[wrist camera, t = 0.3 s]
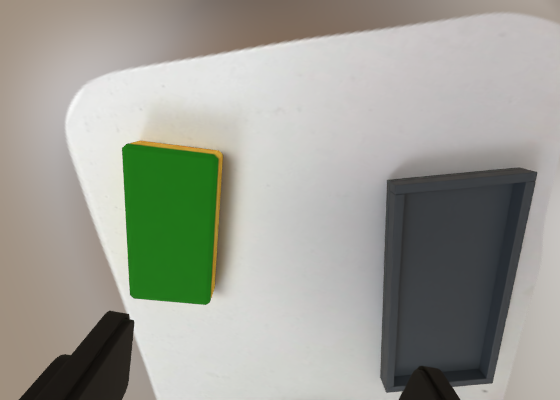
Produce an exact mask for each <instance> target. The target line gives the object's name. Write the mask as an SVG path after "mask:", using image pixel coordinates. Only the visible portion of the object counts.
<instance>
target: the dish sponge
mask: <svg viewBox="0 0 560 400" xmlns="http://www.w3.org/2000/svg"><path fill="white" fill-rule="evenodd" d="M122 155H123V173H124V192H125V211H126V229H127V248H128V266H129V285H130V295H131V296H132V297H133V298H135V299H147V300H158V301H169V302H180V303H192V304H203V305H206V304H208V303H209V302H210V300H211V297H212V294H213V291H214V288H215V275H216V259H217V243H218V227H219V211H220V195H221V179H222V162H223V155H222V153H221V152H220V151H218V150H210V149H202V148H194V147H186V146H178V145H170V144H162V143H154V142H146V141H137V142H133V143H130V144H126V145H125V146H124V147H123V148H122Z"/></svg>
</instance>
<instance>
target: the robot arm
mask: <svg viewBox="0 0 560 400" xmlns="http://www.w3.org/2000/svg"><path fill="white" fill-rule="evenodd" d="M133 331H134V320H129V314H125V313H119V312H114V311H108V312H107V313H106V314H105V315H104V316H103V317H102V318H101V320H100V321H99V322H98V323H97V325H96V326H95V327H94V328H93V329H92V331H91V332H90V333H89V334H88V335H87V337H86V338H85V339H84V340H83V341H82V343H81V344H80V345H79V346H78V347H77V349H76V350H75V351H74V352H73V353H72V355H66V354H65V355H60V356H59V357H57V358H56V359H55V360H54V361H53V362H52V363H51V364H50V365H49V366H48V367H47V369H46V370H45V371H44V372H43V373H42V374H41V375H40V376H39V378H38V379H37V380H36V381H35V382H34V383H33V384H32V386H31V387H30V388H29V389H28V390H27V391H26V392H25V393H24V395H23V396H22V397H21V398H20V399H19V400H122V398H123V396H124V394H125V392H126V389H127V386H128V381H129V371H130V361H131V351H132V341H133ZM399 400H460V398H459V397H458V395H457V394H456V392H455V391H454V389H453V388H452V386H451V385H450V383H449V381H448V380H447V378H446V377H445V375H444V374H443V372H442V371H441V370H440V369H438V368H433V367H427V366H419V367H418V368H417V369H416V370H414V371H413V373H412V375H411V377H410V379H409V381H408V383H407V385H406V387H405V389H404V390H403V392H402V394H401V396H400V398H399Z"/></svg>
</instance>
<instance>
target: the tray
mask: <svg viewBox="0 0 560 400" xmlns="http://www.w3.org/2000/svg"><path fill="white" fill-rule="evenodd" d="M536 177H537V172H535V171H531V170H527V169H523V168H509V169H499V170H488V171H478V172H467V173H457V174H446V175H436V176H425V177H415V178H404V179H394V180H387V200H386V229H385V259H384V288H383V317H382V347H381V376H380V378H381V380H382V383H383V385H384V388H385V390H386V392H387V393H388V392H399V391H403V390H404V389H405V387H406V385H407V383H408V381H409V379H410V377H411V375H412V373H413V371H414V370H416V369H417V368H418V367H419V366H427V367H433V368H438V369H440V370H441V371H442V372H443V374H444V375H445V377H446V378H447V380H448V381H449V383H450V385H451V386H452V387H455V386H467V385H478V384H489V383H493V379H494V374H495V369H496V364H497V360H498V355H499V350H500V346H501V341H502V336H503V332H504V327H505V322H506V318H507V313H508V308H509V304H510V299H511V294H512V290H513V285H514V280H515V276H516V271H517V266H518V262H519V257H520V252H521V248H522V243H523V238H524V234H525V229H526V224H527V220H528V215H529V210H530V205H531V201H532V196H533V191H534V187H535V181H536Z"/></svg>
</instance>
